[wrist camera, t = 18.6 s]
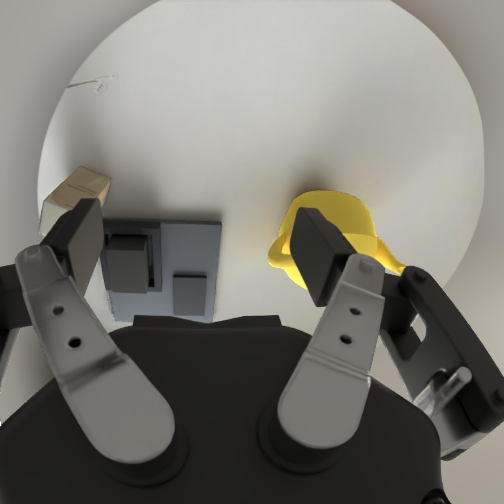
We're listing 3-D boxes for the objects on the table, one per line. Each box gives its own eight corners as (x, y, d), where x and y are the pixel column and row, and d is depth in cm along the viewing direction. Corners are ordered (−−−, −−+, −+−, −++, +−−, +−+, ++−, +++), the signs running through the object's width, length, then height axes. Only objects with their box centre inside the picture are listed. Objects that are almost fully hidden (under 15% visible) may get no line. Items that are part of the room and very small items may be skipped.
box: (112, 178, 35) (86, 217, 26) (103, 206, 37) (78, 251, 27) (78, 165, 33) (42, 200, 24) (70, 193, 34) (36, 235, 25)
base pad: (116, 317, 47) (113, 329, 45) (100, 216, 37) (94, 227, 35) (211, 319, 51) (213, 332, 49) (221, 219, 41) (223, 230, 39)
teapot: (360, 261, 50) (395, 310, 40) (247, 260, 45) (264, 319, 35) (385, 190, 43) (433, 230, 33) (261, 174, 38) (288, 218, 28)
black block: (117, 272, 42) (112, 292, 38) (113, 231, 38) (105, 249, 34) (150, 273, 43) (147, 293, 39) (147, 232, 39) (143, 250, 35)
